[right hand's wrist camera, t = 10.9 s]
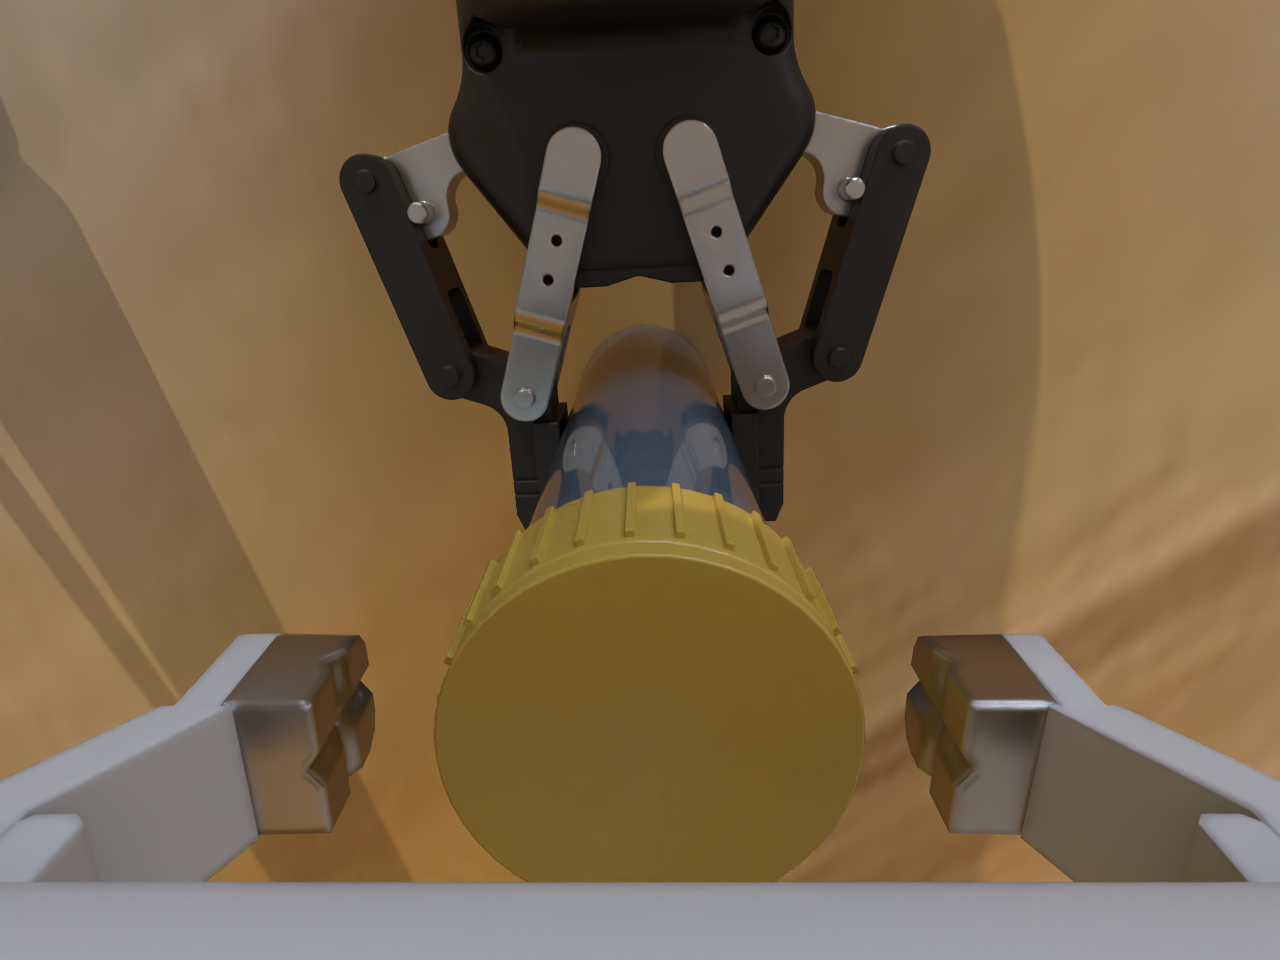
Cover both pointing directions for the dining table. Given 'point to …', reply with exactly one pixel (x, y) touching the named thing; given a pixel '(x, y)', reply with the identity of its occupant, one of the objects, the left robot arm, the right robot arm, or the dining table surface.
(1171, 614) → the dining table surface
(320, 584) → the dining table surface
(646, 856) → the lid
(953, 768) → the right robot arm
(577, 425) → the jar
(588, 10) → the left robot arm
